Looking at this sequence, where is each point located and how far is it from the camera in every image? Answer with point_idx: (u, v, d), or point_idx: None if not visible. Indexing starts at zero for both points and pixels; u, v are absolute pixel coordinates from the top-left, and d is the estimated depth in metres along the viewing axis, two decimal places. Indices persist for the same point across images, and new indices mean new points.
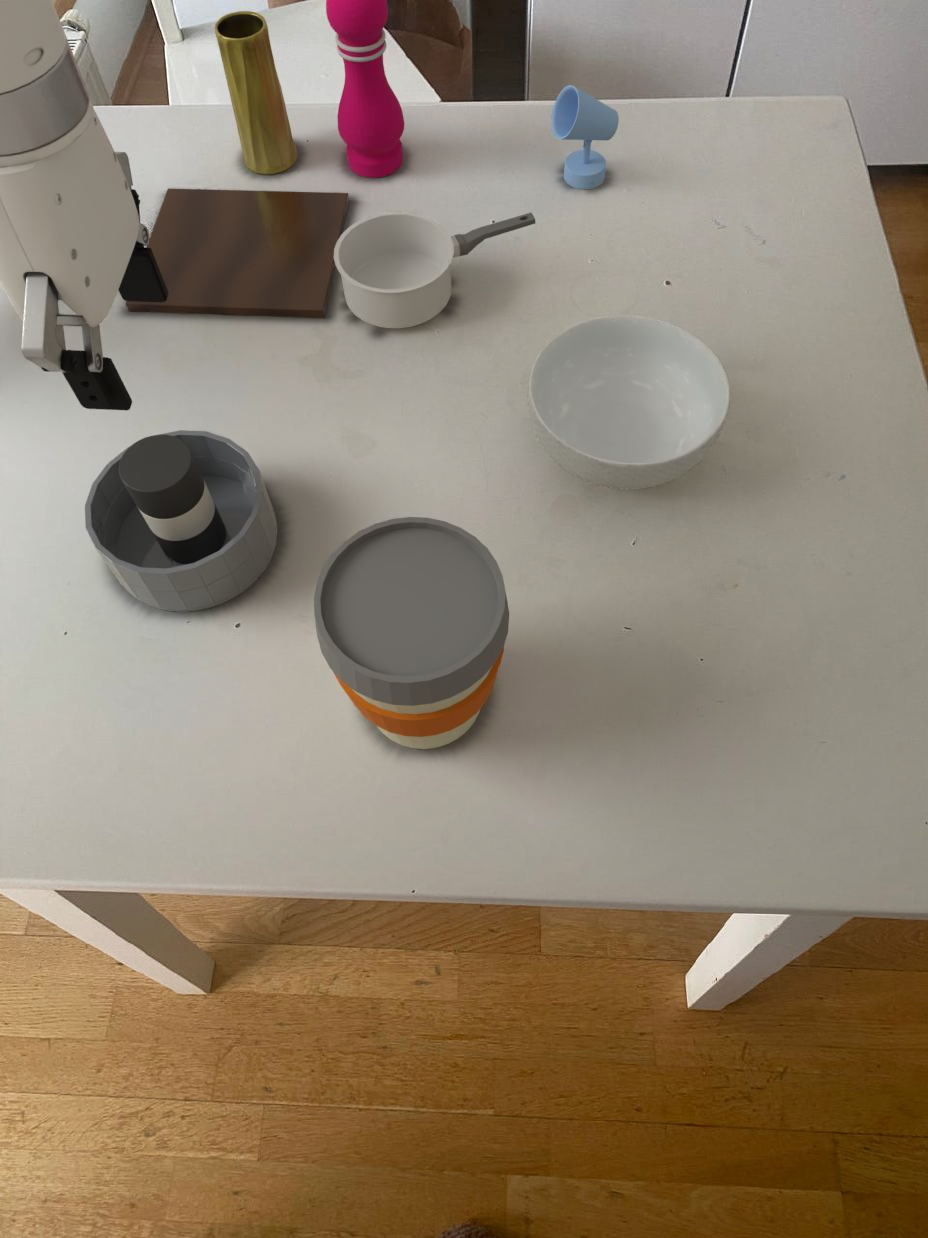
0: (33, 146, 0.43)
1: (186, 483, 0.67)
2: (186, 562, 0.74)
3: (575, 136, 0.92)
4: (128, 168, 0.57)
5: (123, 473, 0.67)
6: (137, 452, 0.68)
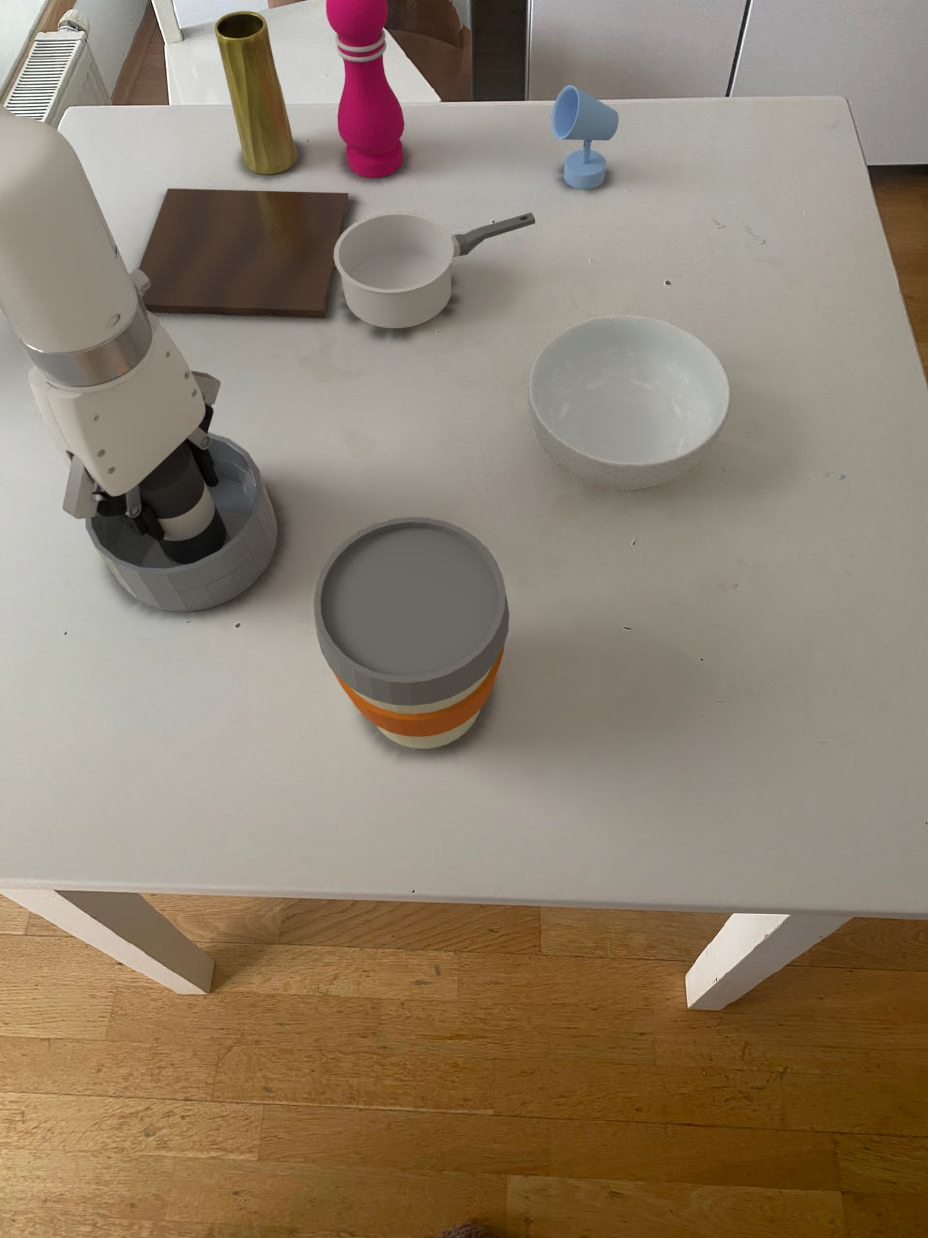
0: (79, 384, 0.55)
1: (186, 483, 0.67)
2: (186, 562, 0.74)
3: (575, 136, 0.92)
4: (215, 391, 0.68)
5: None
6: None
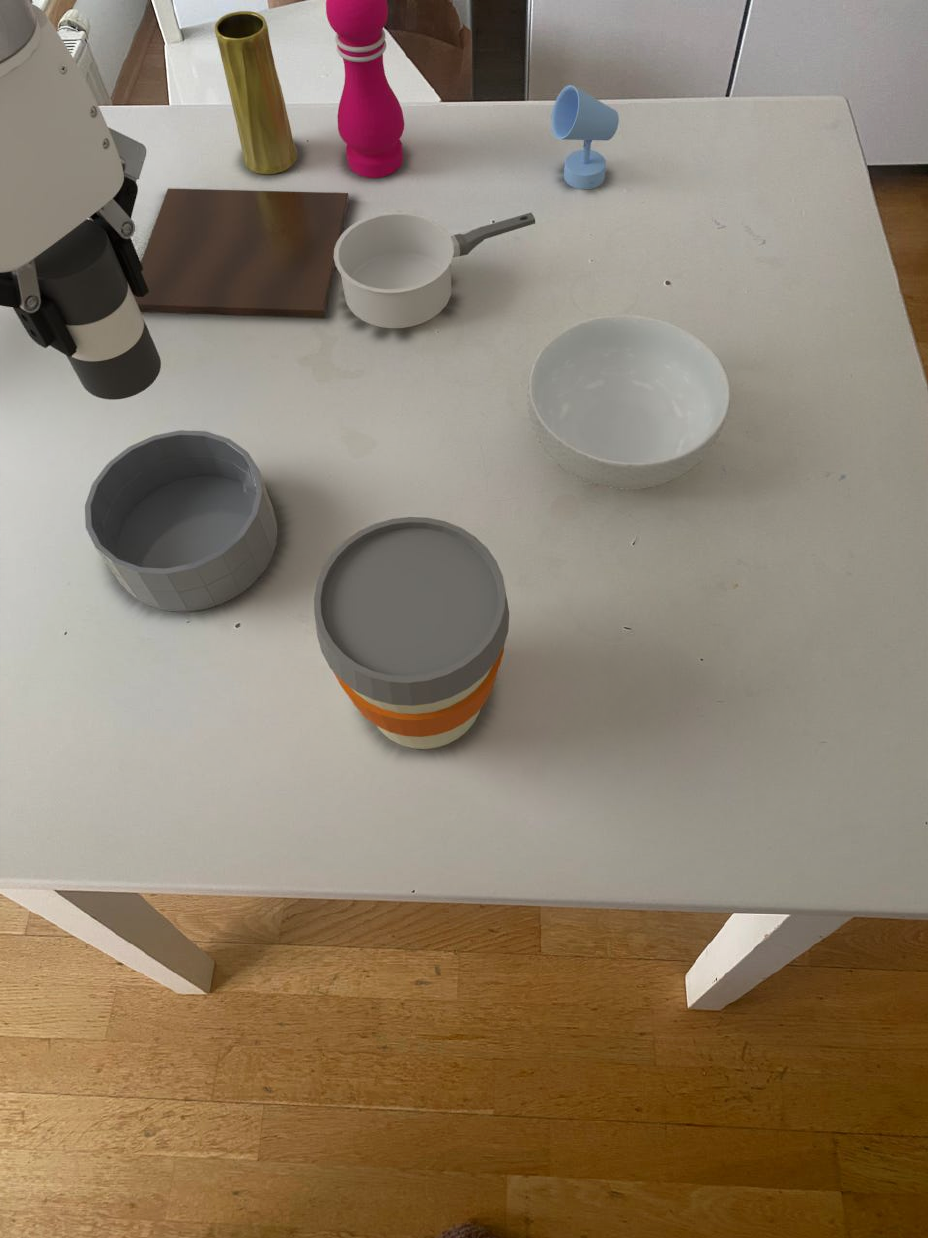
0: None
1: (100, 274, 0.53)
2: (109, 396, 0.60)
3: (575, 136, 0.92)
4: (140, 161, 0.54)
5: None
6: None
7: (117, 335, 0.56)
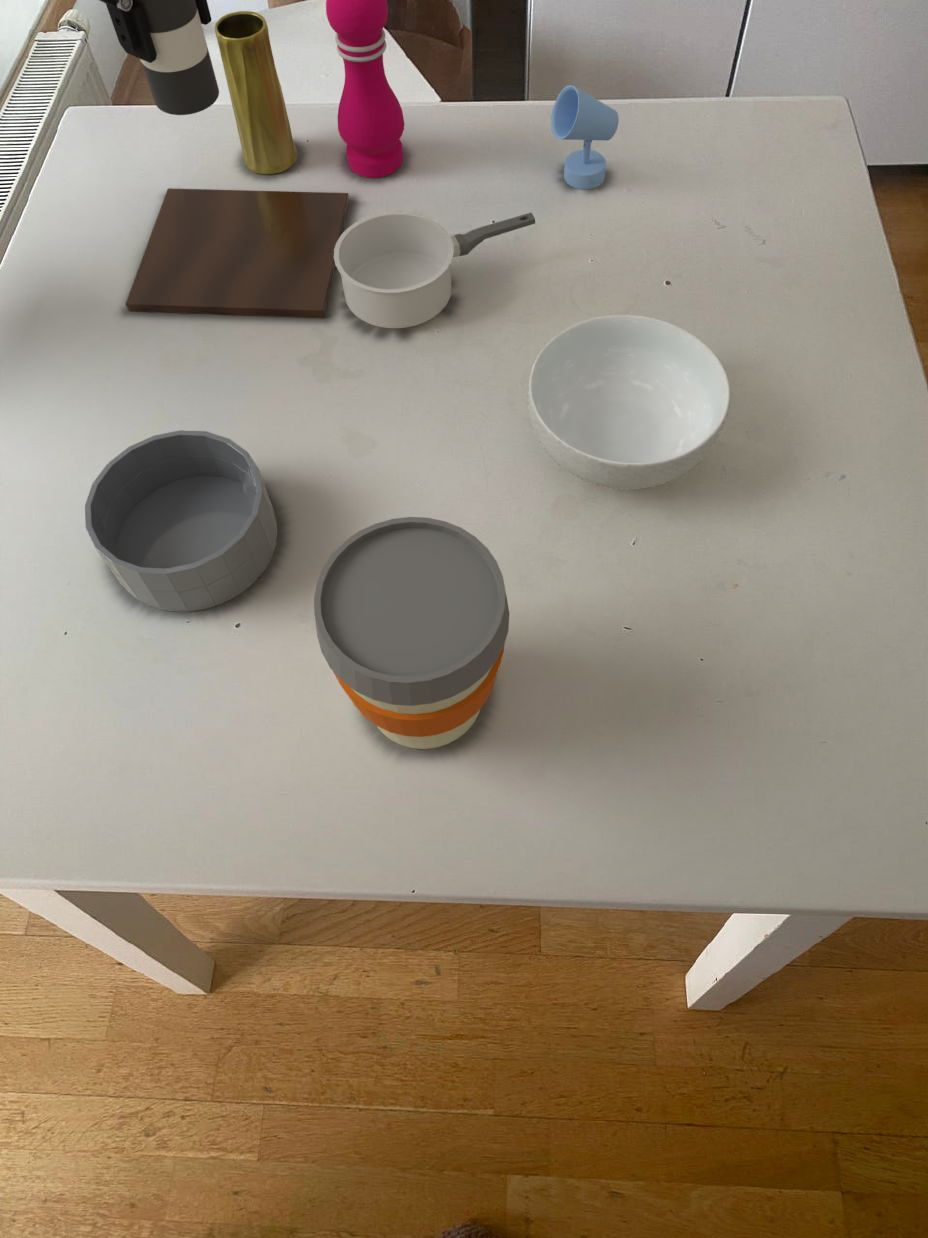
0: None
1: None
2: (179, 111, 0.75)
3: (575, 136, 0.92)
4: None
5: None
6: None
7: (188, 47, 0.71)
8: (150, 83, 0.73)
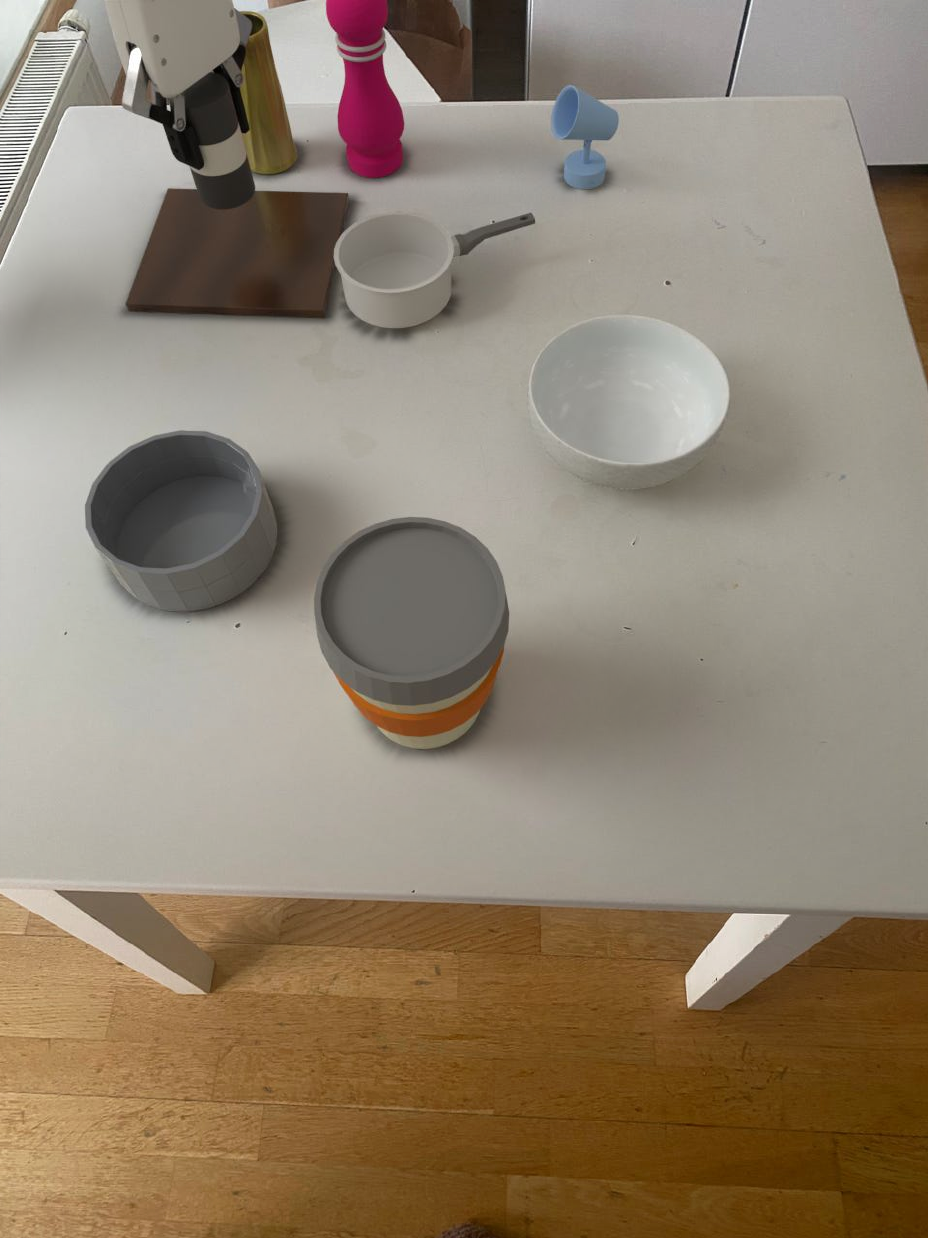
0: None
1: (224, 107, 0.79)
2: (221, 206, 0.86)
3: (575, 136, 0.92)
4: (248, 32, 0.80)
5: None
6: None
7: (231, 155, 0.82)
8: (197, 183, 0.85)
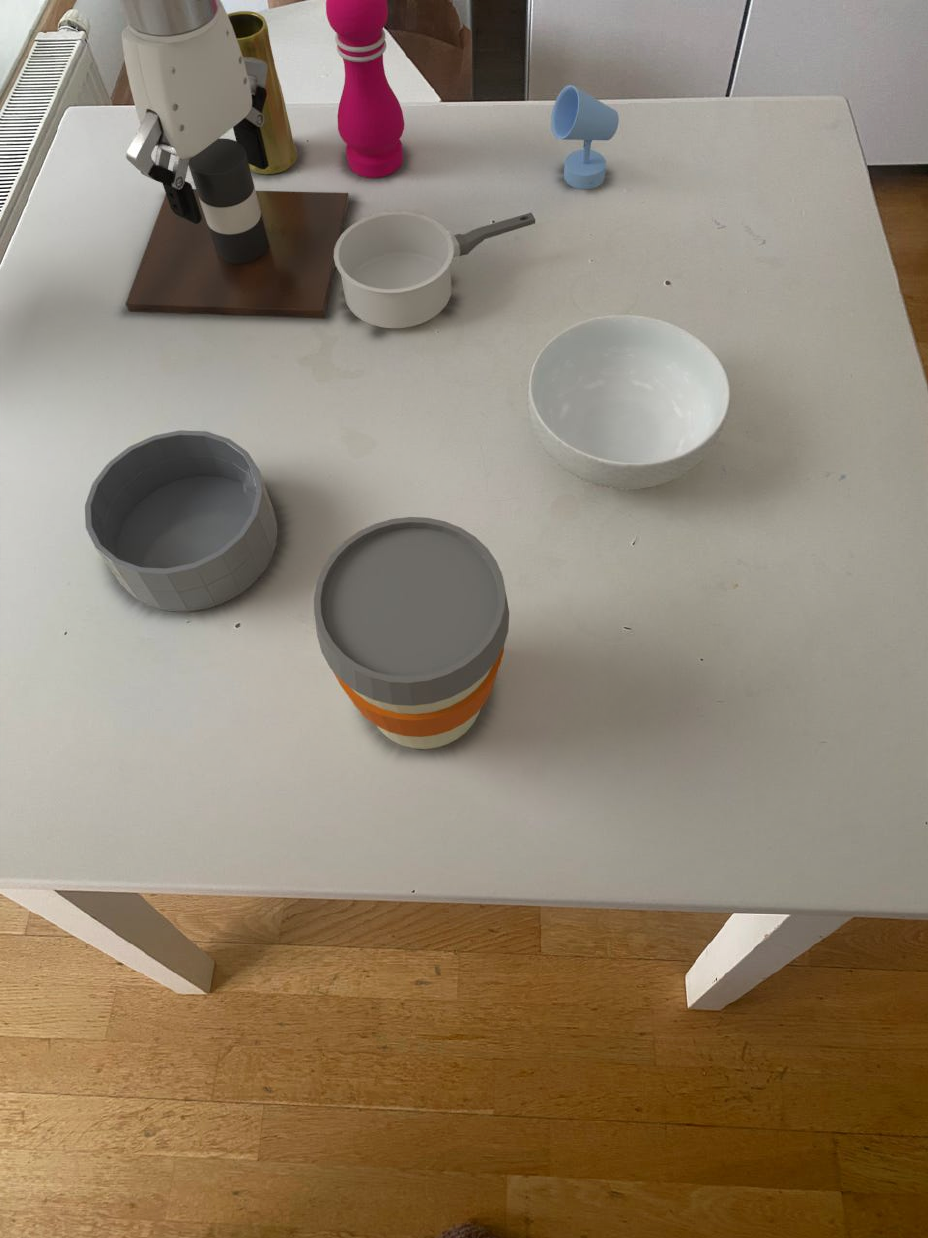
0: (163, 33, 0.71)
1: (241, 172, 0.84)
2: (237, 261, 0.91)
3: (575, 136, 0.92)
4: (265, 73, 0.84)
5: (191, 163, 0.84)
6: None
7: (247, 216, 0.88)
8: (214, 240, 0.90)
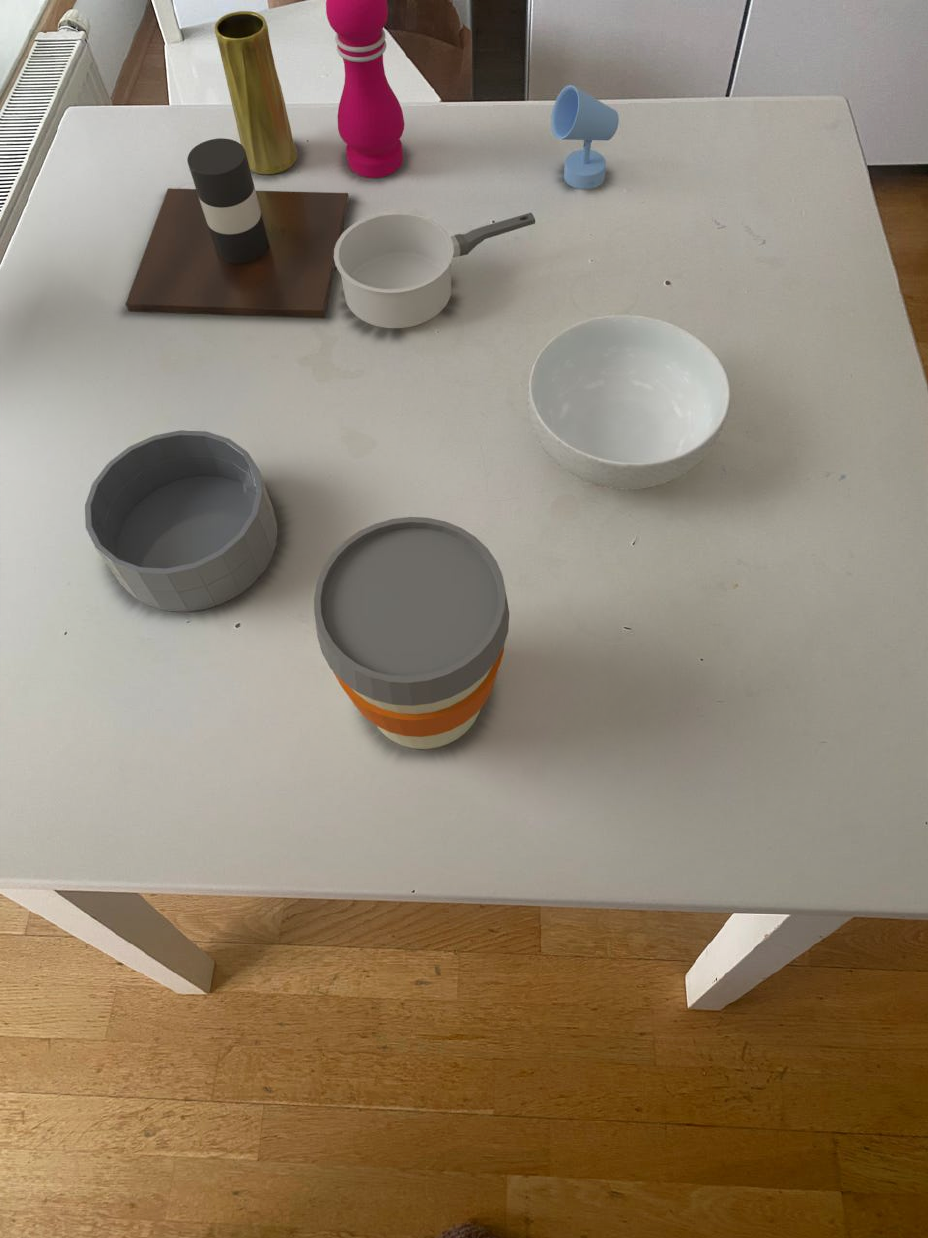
0: None
1: (241, 172, 0.84)
2: (237, 261, 0.91)
3: (575, 136, 0.92)
4: None
5: (191, 163, 0.84)
6: (201, 149, 0.85)
7: (247, 216, 0.88)
8: (214, 240, 0.90)
